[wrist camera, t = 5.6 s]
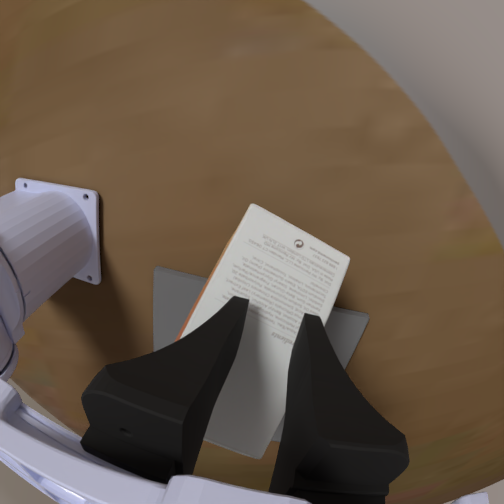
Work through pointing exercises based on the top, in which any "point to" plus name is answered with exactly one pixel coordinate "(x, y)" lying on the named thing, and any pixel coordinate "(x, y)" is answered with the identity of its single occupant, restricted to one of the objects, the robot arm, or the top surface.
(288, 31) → the top surface
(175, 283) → the display mat
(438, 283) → the top surface
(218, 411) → the small box
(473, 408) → the top surface
